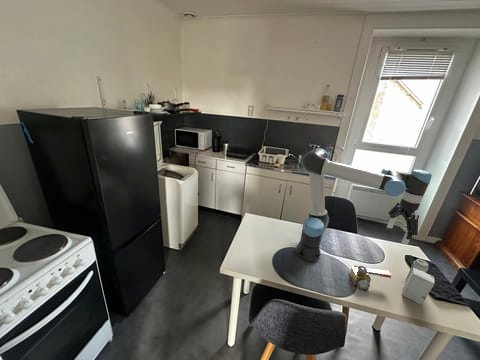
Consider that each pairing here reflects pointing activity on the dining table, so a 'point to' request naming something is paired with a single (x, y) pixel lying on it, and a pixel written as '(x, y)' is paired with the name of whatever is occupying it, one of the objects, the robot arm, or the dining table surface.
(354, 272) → the valve
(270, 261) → the dining table surface
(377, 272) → the lever
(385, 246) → the dining table surface
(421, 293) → the skincare box
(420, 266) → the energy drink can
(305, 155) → the robot arm
